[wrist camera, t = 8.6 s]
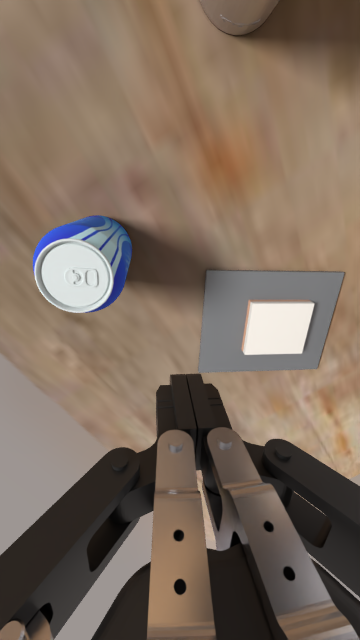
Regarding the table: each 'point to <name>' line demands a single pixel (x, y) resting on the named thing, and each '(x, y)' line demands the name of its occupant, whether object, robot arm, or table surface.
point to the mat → (231, 309)
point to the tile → (276, 326)
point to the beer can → (83, 264)
